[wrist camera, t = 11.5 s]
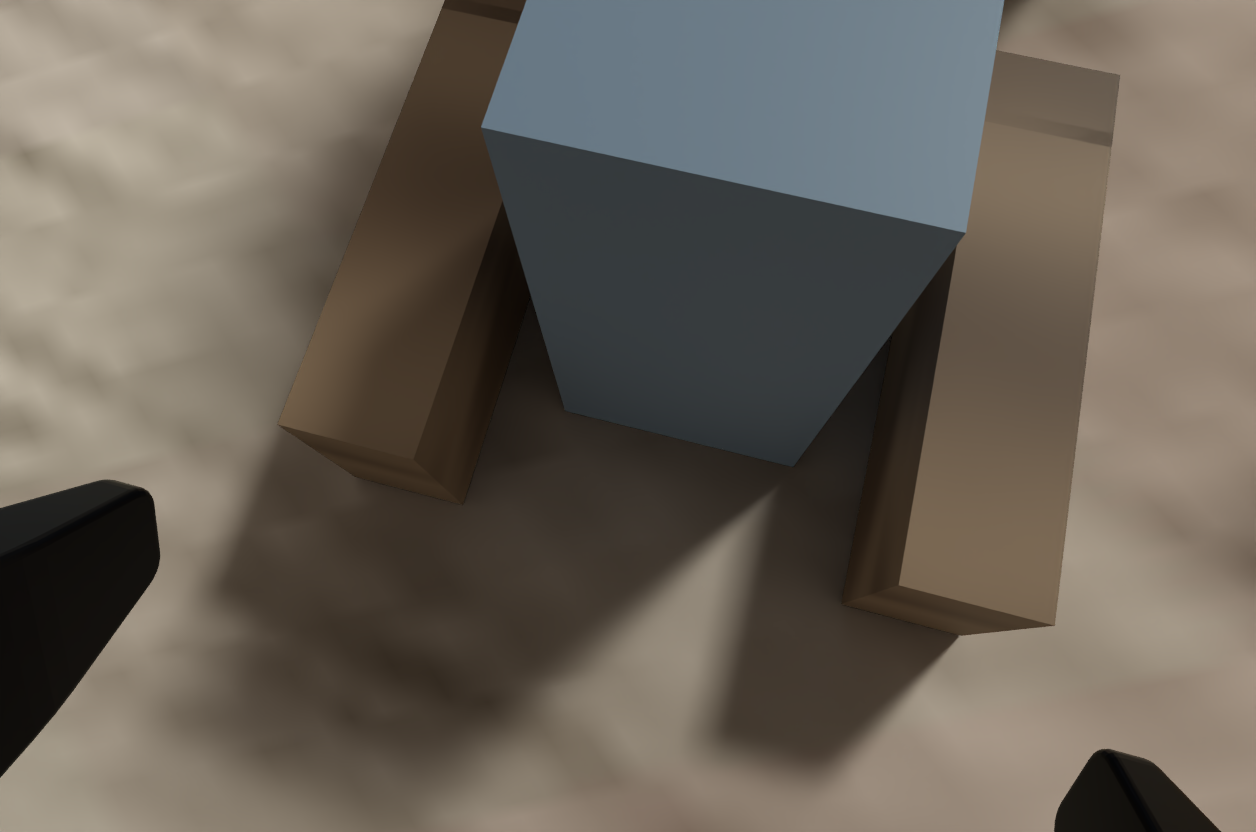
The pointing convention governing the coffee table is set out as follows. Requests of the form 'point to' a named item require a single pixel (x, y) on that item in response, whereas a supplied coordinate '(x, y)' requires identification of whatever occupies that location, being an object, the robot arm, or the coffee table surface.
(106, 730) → the coffee table surface
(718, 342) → the rectangular block
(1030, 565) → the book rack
